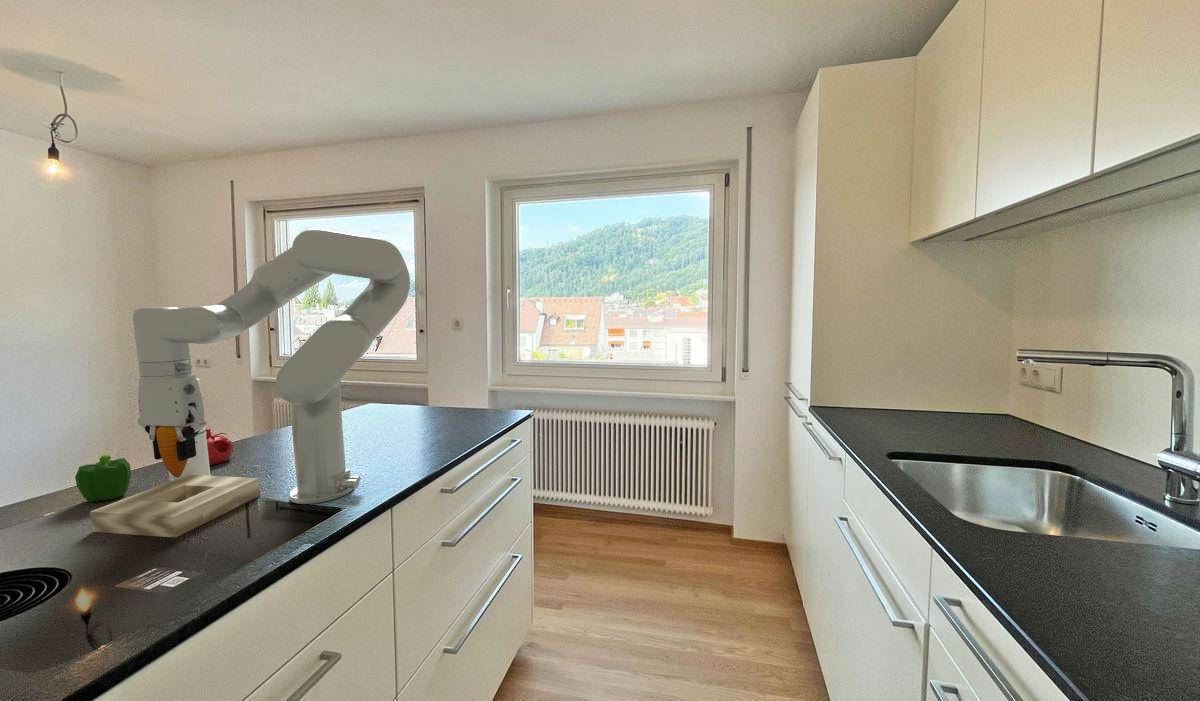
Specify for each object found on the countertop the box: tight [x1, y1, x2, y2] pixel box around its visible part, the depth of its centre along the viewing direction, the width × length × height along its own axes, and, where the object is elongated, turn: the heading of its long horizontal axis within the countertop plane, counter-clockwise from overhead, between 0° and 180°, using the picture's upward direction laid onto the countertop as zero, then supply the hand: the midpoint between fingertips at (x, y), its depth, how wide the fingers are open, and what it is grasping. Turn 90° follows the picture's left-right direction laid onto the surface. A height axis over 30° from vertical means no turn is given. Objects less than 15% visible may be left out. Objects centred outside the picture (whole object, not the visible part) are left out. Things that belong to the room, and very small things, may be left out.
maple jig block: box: [89, 475, 261, 538], centre depth 94 cm, size 18×18×4 cm
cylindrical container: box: [167, 377, 211, 482], centre depth 106 cm, size 7×7×25 cm
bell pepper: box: [74, 454, 132, 503], centre depth 100 cm, size 8×8×10 cm
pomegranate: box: [205, 427, 235, 466], centre depth 122 cm, size 10×10×9 cm
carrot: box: [156, 423, 188, 478], centre depth 92 cm, size 5×5×15 cm
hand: (175, 457), depth 92 cm, fingers closed on carrot, 4 cm apart
